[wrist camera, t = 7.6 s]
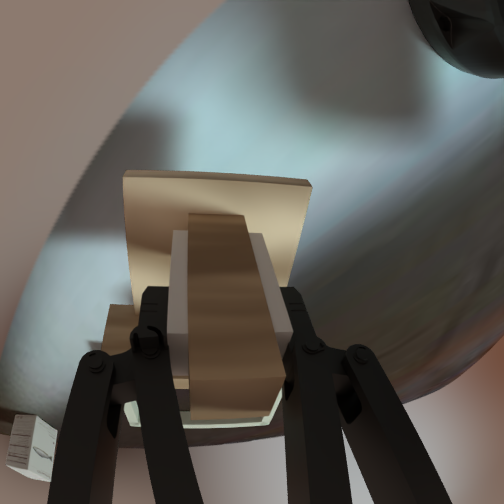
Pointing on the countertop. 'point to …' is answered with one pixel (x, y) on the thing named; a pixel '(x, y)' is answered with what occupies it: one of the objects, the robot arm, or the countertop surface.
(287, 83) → the countertop surface
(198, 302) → the wooden scraper
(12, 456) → the supplement box
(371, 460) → the robot arm
